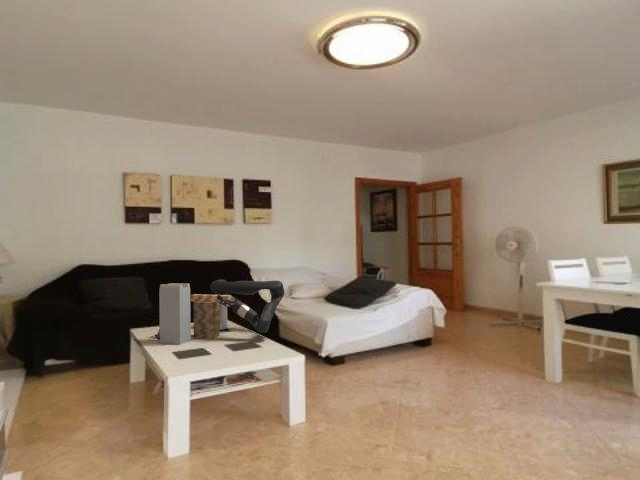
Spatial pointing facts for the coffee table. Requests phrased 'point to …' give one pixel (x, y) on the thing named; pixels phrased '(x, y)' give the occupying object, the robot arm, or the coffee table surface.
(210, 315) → the walnut step
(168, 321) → the grey stand
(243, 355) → the coffee table surface
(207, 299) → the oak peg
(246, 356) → the coffee table surface
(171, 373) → the coffee table surface
